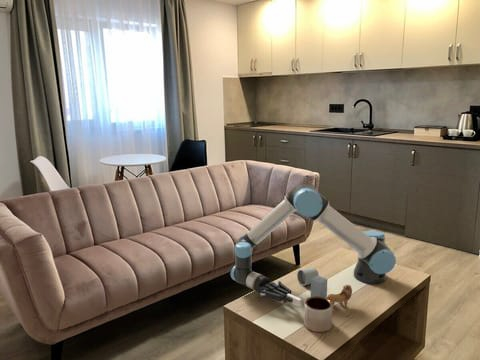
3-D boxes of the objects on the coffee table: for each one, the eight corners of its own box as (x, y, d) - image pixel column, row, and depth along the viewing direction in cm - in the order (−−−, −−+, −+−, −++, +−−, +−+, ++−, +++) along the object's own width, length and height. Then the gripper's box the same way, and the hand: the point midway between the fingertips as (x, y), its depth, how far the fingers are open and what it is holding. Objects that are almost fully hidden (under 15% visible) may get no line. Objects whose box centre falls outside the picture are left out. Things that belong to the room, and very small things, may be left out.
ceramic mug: (319, 284, 186) (320, 269, 185) (305, 288, 183) (306, 273, 181) (306, 276, 196) (306, 261, 194) (293, 279, 192) (293, 265, 191)
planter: (304, 332, 150) (304, 309, 148) (303, 316, 161) (303, 295, 159) (333, 334, 149) (334, 311, 147) (330, 317, 159) (331, 296, 157)
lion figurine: (345, 300, 172) (346, 281, 170) (354, 306, 168) (355, 286, 166) (319, 309, 166) (320, 290, 164) (327, 315, 161) (328, 295, 159)
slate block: (310, 299, 173) (311, 279, 171) (317, 295, 177) (317, 275, 174) (319, 304, 170) (320, 282, 167) (326, 299, 173) (327, 279, 171)
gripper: (268, 285, 181) (309, 305, 164) (248, 295, 173) (289, 317, 156) (268, 270, 180) (310, 288, 163) (248, 280, 171) (289, 300, 154)
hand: (300, 302), depth 159 cm, fingers closed
